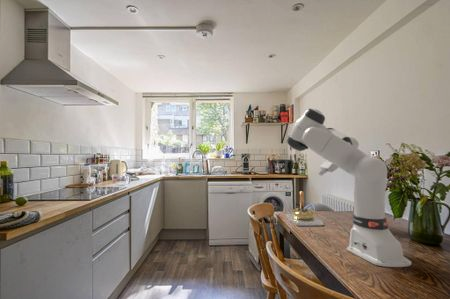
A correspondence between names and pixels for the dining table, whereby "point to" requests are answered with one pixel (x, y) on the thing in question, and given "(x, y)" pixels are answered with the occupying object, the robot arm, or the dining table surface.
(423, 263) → the dining table surface
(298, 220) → the cap plate
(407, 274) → the dining table surface
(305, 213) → the ring nut
